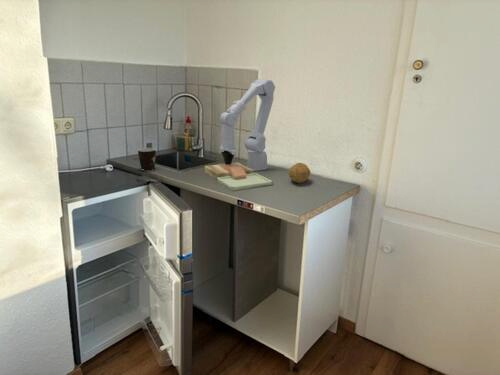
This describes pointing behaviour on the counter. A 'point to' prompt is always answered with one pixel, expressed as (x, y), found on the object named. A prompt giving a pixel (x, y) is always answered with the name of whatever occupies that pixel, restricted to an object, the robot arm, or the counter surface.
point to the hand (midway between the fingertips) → (228, 166)
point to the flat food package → (220, 172)
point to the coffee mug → (147, 158)
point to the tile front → (237, 172)
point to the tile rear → (229, 166)
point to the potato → (299, 172)
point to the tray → (244, 182)
